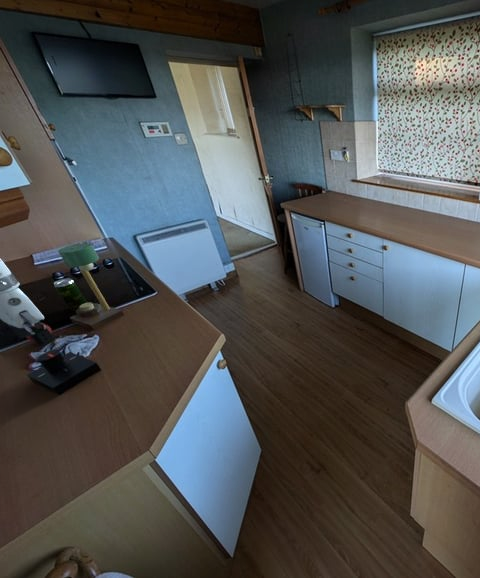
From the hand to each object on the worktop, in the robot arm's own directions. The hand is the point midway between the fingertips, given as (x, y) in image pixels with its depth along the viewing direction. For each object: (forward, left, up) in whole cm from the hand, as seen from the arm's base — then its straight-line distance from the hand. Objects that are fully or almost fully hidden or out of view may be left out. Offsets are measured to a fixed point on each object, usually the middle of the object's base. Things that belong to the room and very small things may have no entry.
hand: (37, 339), depth 79 cm
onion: (-25, +6, -14) cm, 29 cm away
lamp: (-15, +23, -9) cm, 29 cm away
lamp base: (-22, +21, -13) cm, 33 cm away
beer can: (-38, +23, -14) cm, 47 cm away
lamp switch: (-26, +21, -10) cm, 35 cm away
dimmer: (+2, 0, -13) cm, 13 cm away
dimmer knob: (0, 0, -10) cm, 10 cm away
